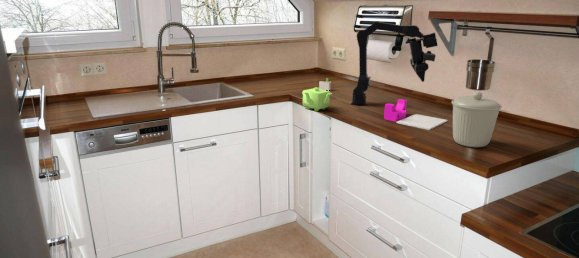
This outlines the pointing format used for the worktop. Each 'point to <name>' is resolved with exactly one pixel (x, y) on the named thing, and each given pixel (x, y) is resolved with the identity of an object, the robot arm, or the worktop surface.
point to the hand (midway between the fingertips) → (421, 79)
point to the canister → (474, 120)
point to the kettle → (316, 99)
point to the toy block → (395, 111)
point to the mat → (422, 121)
